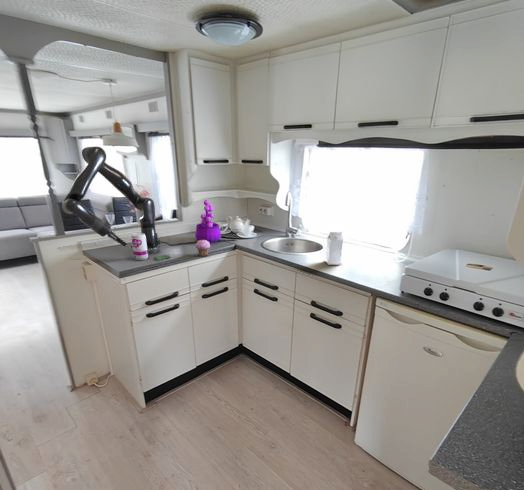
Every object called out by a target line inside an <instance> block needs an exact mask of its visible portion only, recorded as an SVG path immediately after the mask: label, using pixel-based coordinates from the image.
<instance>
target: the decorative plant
mask: <svg viewBox="0 0 524 490" xmlns="http://www.w3.org/2000/svg"><path fill="white" fill-rule="evenodd" d="M203 205H204V207H203V210H204V211H205V213H201V214H200V219H201V221H200V223H197V224H196V227H195V233H194V238H195V239H196V241H199V240H206V241H208V242H209V243H210V244H211V243H216V242H219V241H218V240H221V238H222V232H221V229H220V225H219V223H217V222H213V221H212V219H213V218H214V213H212V212H213V210H214V207H213V205H211V204H210V201H209V200H208V199H205V200H204V201H203Z"/></svg>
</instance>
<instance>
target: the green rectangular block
mask: <svg viewBox="0 0 524 490" xmlns="http://www.w3.org/2000/svg"><path fill="white" fill-rule="evenodd" d="M169 258H170V256H169V255H167V254H163V255H159V256H158V255H157V256H155V257H154V258H153V259H154V260H155V261H162V260H165V259H169Z"/></svg>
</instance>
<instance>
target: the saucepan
mask: <svg viewBox="0 0 524 490" xmlns="http://www.w3.org/2000/svg"><path fill="white" fill-rule="evenodd" d="M158 245H159V244H158ZM158 245H147V250H148V255H154V254H158V253H159V252H160V248H159V246H160V245H159V246H158ZM130 248H131V249H133V246H132V244H131V245H130Z"/></svg>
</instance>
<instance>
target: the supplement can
mask: <svg viewBox="0 0 524 490" xmlns="http://www.w3.org/2000/svg"><path fill="white" fill-rule="evenodd" d="M130 239H131V245H132V246H133V248H132V253H133V258H134V260H136V261H144V260H148V258H149V254H148V250H147V242H146V236H145V234H144V233H141V232H136V233H132V234H131V238H130Z"/></svg>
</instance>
